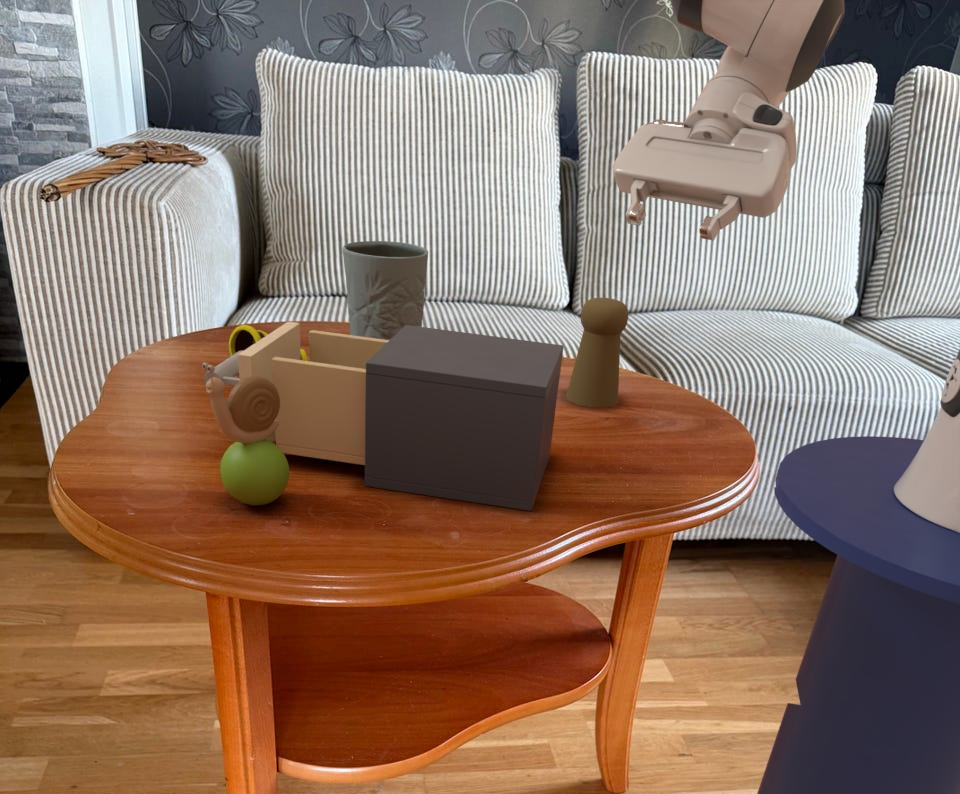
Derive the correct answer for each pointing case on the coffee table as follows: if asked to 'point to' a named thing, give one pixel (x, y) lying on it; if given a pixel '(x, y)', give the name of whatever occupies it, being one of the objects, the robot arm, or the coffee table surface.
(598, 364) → the cork
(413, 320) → the grey embossed cup
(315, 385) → the drawer
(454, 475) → the cabinet
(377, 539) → the coffee table surface
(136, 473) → the coffee table surface
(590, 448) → the coffee table surface
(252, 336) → the opera glasses
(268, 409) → the snail figurine
